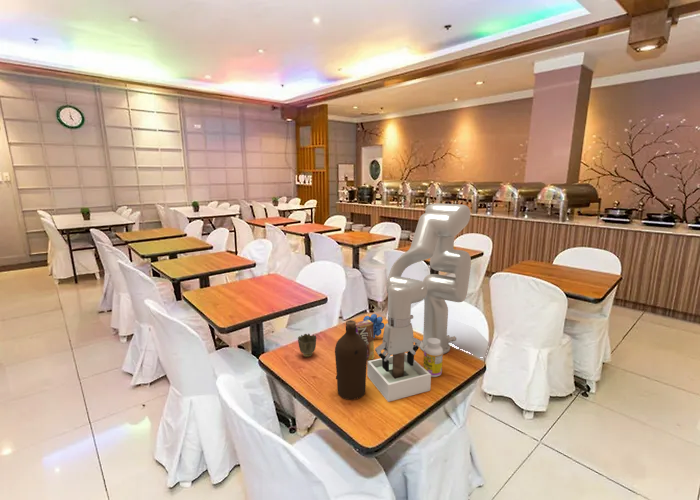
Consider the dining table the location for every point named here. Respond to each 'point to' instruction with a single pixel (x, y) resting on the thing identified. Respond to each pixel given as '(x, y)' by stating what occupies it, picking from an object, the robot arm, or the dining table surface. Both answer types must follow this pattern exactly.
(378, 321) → the grapes
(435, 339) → the supplement bottle
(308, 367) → the dining table surface
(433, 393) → the dining table surface
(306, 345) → the cup
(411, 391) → the box
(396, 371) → the peg
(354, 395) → the olive oil
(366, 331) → the candy box
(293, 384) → the dining table surface
